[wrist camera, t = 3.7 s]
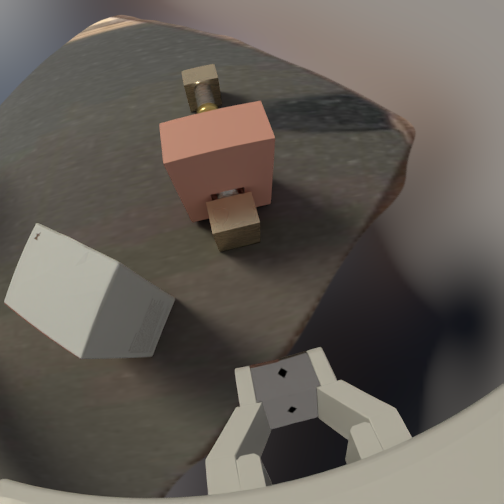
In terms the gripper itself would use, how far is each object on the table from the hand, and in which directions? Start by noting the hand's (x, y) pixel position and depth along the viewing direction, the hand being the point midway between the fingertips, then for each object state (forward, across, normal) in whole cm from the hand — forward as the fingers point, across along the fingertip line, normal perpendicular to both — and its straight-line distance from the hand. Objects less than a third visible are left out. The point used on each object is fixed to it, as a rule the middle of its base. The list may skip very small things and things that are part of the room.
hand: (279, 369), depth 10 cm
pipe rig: (+28, 0, -3) cm, 28 cm away
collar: (+24, 0, +1) cm, 24 cm away
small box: (+17, +12, +8) cm, 23 cm away
